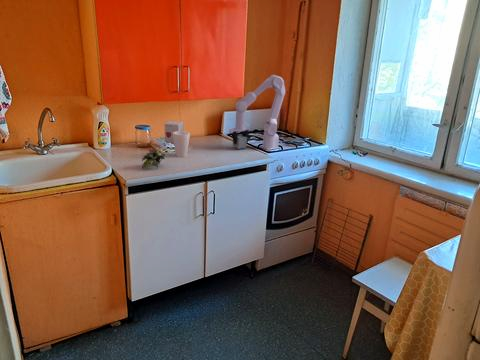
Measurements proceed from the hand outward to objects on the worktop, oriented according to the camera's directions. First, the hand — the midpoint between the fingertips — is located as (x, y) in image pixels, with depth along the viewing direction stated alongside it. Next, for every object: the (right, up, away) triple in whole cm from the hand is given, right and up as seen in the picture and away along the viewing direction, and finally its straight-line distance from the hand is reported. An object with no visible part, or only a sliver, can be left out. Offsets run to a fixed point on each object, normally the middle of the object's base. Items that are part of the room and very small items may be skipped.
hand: (239, 143), depth 233 cm
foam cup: (-33, -9, -18) cm, 38 cm away
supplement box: (-40, -3, -2) cm, 40 cm away
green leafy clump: (-43, -16, -39) cm, 61 cm away
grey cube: (0, -2, +1) cm, 2 cm away
